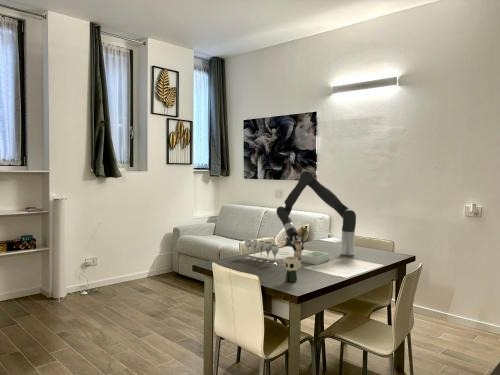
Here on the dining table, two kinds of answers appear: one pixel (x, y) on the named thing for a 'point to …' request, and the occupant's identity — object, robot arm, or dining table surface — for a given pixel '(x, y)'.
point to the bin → (315, 257)
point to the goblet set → (261, 248)
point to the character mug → (291, 268)
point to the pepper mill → (298, 249)
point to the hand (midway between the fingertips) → (299, 250)
